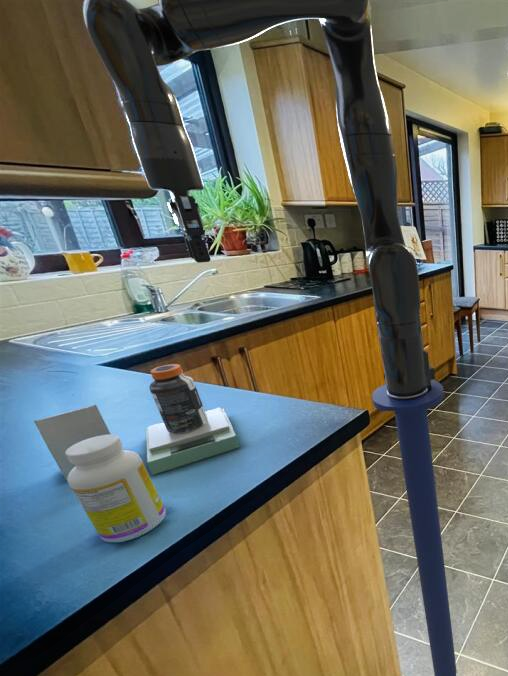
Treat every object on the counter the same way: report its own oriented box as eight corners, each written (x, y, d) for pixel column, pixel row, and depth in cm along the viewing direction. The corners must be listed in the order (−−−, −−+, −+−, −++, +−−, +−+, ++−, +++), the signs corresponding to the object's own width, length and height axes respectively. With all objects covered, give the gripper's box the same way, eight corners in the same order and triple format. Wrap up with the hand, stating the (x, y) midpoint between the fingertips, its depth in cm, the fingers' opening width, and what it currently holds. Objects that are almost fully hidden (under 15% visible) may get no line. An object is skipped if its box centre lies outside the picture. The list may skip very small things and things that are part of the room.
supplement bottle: (140, 506, 57) (101, 427, 51) (180, 511, 56) (144, 431, 50) (87, 542, 51) (36, 457, 45) (130, 548, 50) (83, 462, 44)
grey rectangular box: (123, 461, 67) (98, 408, 63) (66, 481, 62) (34, 425, 58) (119, 453, 69) (94, 401, 65) (64, 472, 64) (33, 417, 60)
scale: (227, 418, 80) (223, 405, 79) (240, 447, 70) (235, 432, 69) (150, 440, 73) (144, 426, 72) (152, 475, 63) (145, 459, 62)
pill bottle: (216, 418, 74) (195, 361, 70) (192, 434, 69) (168, 374, 64) (185, 418, 74) (162, 361, 70) (158, 434, 69) (132, 374, 64)
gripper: (200, 155, 63) (231, 261, 70) (192, 163, 73) (219, 255, 80) (138, 151, 59) (177, 266, 65) (138, 160, 69) (172, 259, 75)
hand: (200, 260), depth 72 cm, fingers open, 8 cm apart
